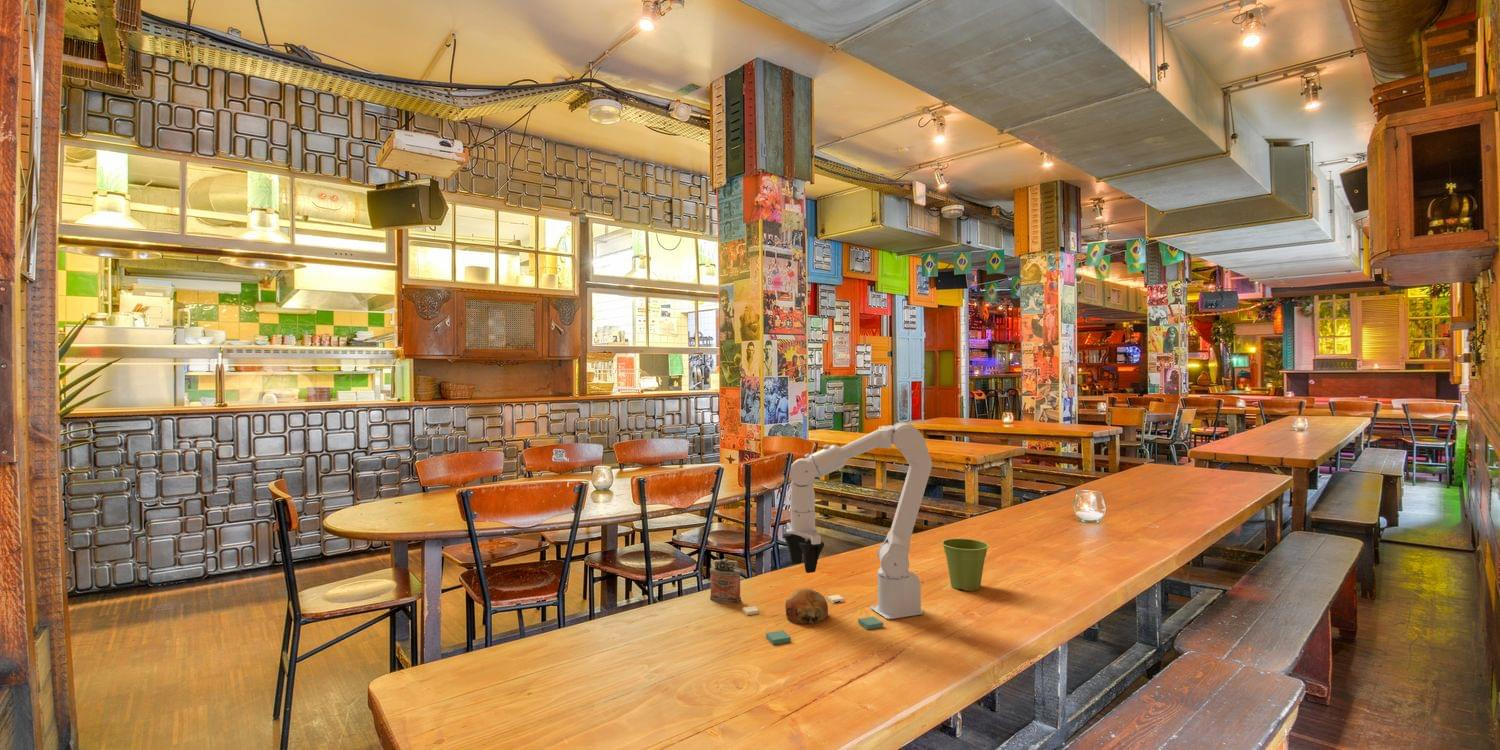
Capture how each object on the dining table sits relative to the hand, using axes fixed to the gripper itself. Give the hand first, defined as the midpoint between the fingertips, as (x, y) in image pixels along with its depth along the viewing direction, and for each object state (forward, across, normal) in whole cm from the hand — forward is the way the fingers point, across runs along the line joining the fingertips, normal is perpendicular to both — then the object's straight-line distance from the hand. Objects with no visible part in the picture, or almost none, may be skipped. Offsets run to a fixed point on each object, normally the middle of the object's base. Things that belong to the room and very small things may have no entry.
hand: (803, 567), depth 158 cm
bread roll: (+10, +4, -1) cm, 11 cm away
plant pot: (+10, +1, +46) cm, 47 cm away
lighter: (+10, -13, -15) cm, 22 cm away
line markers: (+10, +6, -1) cm, 12 cm away
